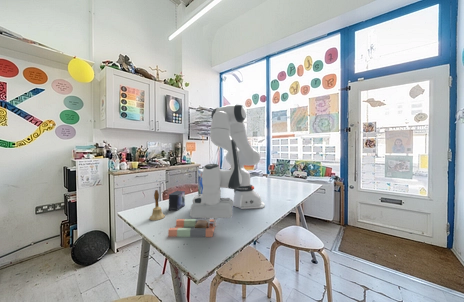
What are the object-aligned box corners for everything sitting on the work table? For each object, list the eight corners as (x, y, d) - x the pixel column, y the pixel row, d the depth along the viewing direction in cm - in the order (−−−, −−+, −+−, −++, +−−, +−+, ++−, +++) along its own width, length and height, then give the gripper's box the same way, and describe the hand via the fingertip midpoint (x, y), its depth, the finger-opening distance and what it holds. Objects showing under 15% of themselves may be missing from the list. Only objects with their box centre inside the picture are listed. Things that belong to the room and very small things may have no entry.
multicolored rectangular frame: (215, 225, 90) (215, 219, 90) (212, 237, 78) (212, 230, 78) (177, 224, 90) (177, 219, 90) (168, 236, 78) (168, 229, 78)
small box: (177, 211, 110) (177, 194, 110) (168, 210, 111) (168, 194, 111) (185, 205, 120) (185, 190, 120) (176, 205, 121) (176, 190, 121)
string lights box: (197, 205, 120) (197, 168, 119) (208, 204, 123) (208, 168, 122) (201, 212, 107) (201, 171, 107) (213, 210, 110) (213, 170, 110)
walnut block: (208, 228, 87) (208, 220, 87) (205, 234, 81) (205, 225, 81) (198, 227, 87) (198, 220, 87) (194, 233, 81) (194, 225, 81)
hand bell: (150, 221, 94) (150, 192, 94) (148, 217, 101) (147, 189, 100) (166, 218, 99) (166, 190, 99) (162, 213, 106) (162, 187, 105)
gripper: (233, 196, 86) (233, 223, 86) (192, 195, 87) (192, 223, 87) (232, 199, 80) (232, 229, 80) (189, 199, 80) (189, 229, 81)
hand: (211, 226), depth 84 cm, fingers closed
